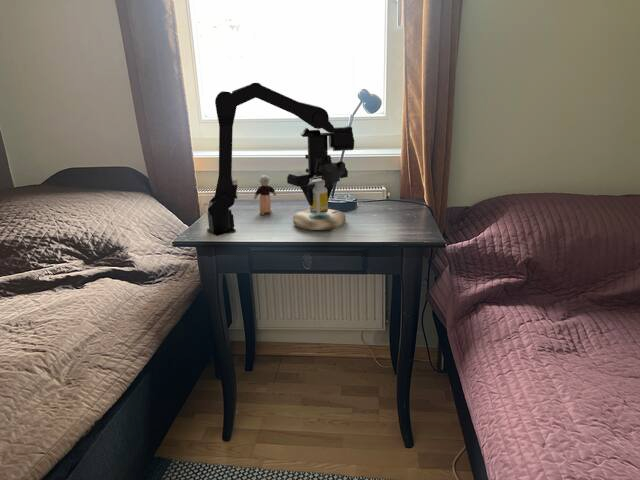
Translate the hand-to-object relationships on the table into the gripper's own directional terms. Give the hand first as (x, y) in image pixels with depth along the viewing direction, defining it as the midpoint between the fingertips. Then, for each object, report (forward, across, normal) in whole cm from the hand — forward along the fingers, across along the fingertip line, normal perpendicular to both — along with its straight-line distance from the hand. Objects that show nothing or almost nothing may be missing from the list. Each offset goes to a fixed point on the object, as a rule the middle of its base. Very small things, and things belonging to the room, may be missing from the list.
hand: (318, 203), depth 138 cm
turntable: (+6, 0, 0) cm, 7 cm away
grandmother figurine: (+7, -6, +21) cm, 23 cm away
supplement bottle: (+3, 0, 0) cm, 3 cm away
